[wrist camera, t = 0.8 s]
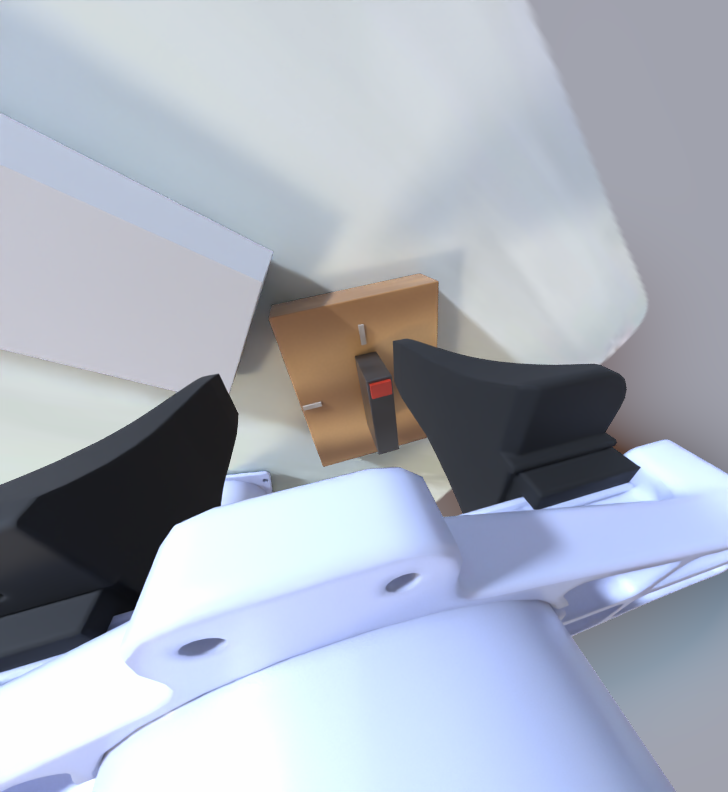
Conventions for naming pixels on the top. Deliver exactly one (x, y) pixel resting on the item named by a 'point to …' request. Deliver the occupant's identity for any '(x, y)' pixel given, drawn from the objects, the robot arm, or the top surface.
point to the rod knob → (378, 401)
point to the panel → (351, 356)
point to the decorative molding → (117, 271)
